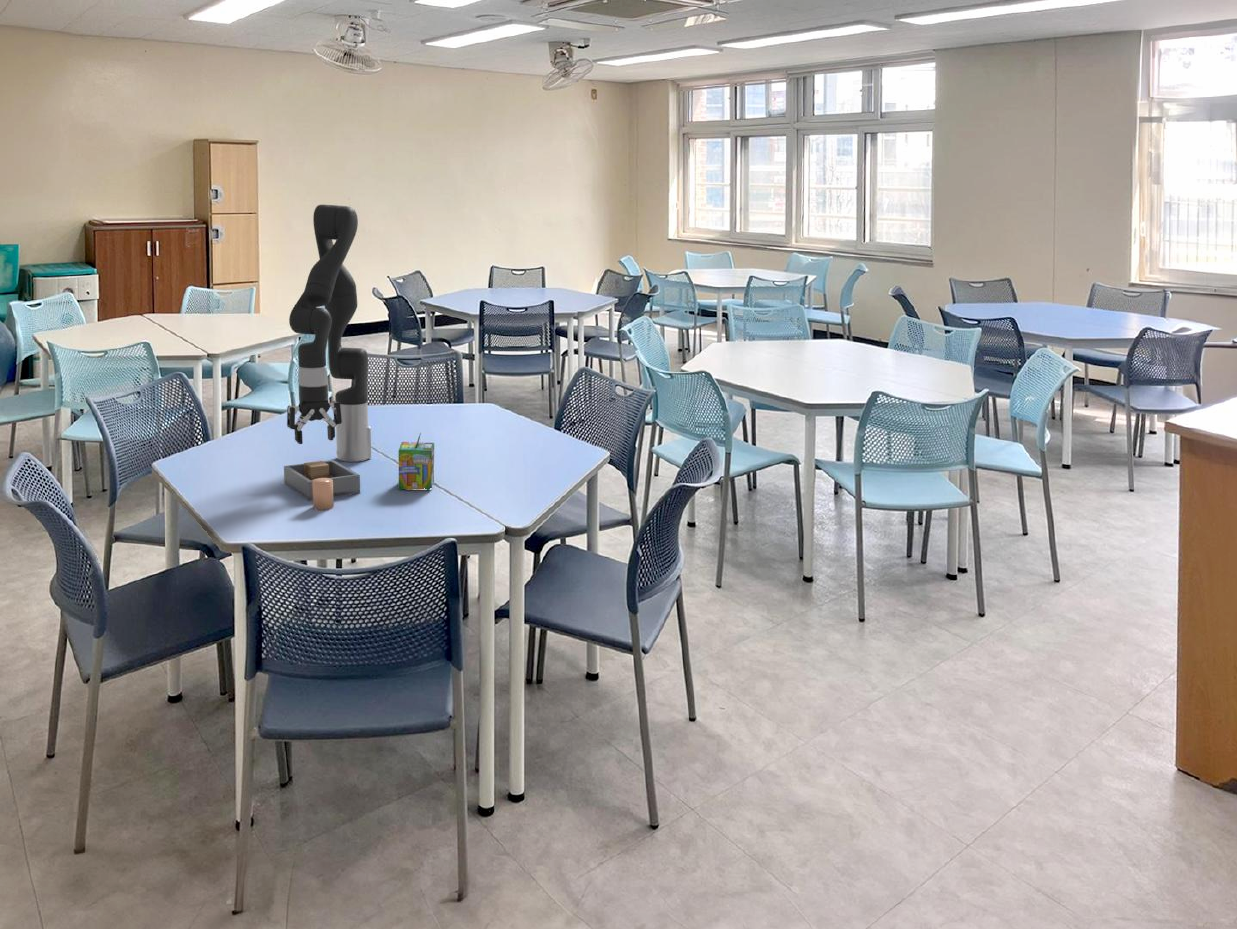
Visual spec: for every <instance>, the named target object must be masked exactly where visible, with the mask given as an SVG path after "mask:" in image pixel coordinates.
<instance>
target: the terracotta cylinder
mask: <svg viewBox="0 0 1237 929" xmlns="http://www.w3.org/2000/svg"><path fill="white" fill-rule="evenodd" d="M312 485H313V500H312V508H313V509H314V510H318V511H325V510H327V511H328V510H331V509H333V508H334V505H335V504H334V497H333V480H332V479H330V478H317V479H314V480H312Z"/></svg>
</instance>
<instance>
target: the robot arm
mask: <svg viewBox="0 0 1237 929" xmlns="http://www.w3.org/2000/svg"><path fill="white" fill-rule="evenodd" d="M358 219H359V218H358V214H357V211H356V210H355V208H353V207H351V206H347V205H336V204H335V205H334V204H318V205H316V207H315V209H314V211H313V223H312V224H313V230H314V236H315V237H314V238H315V241H316V247H317V252H318V256H319V260H317V261H316V263H314V265H313V266H312V267H311V269H310V272H309V273H308V276H307V280H306V284H305V286H304V290H303V292H302V294H301V295H300V297H299V298H298V300H297V302H296V303H295V304H294V306H293V308H292V309H291V311H290V314H289V317H288V318H289V319H288V321H289V326H290V327H289V328H291V330H292V331H293V332H294V333H296V334H301V335H313V336H314V339H313V341H311V342H305V343H304V342H303V343H301V344H300V345H299V346H298V348H297V356H298V357H297V360H298V369H297V370H298V373H297V382H298V401H299V403H298V405H296V406H292V405H289V404H288V406H287V407H286V408H287V410H286V415H287V416H286V426H287V428H289V429H291V430H294V440H295V442H296V443H297V444H298V445H303V431H302V429H303V427H304V426H305V425H306V424H307V423H308V421H309V422H314V421H322V420H324V421H325V422H326V424H327V427H326V428H327V440H329V441H331V442H332V441H334V439H335V437H336V459H337V460H338V461H341V462H349V463H350V462H362V461H367V460H369V459H372V431H371V430H372V428H371V427H370V426H369V417H368V416H369V412H368V410H369V409H368V395H369V394H368V392H369V391H368V390H369V388H368V387H369V386H368V383H369V382H368V380H369V379H368V378H369V356H368V352H367V350H366V349H365V348H361V347H343V346H342V337H343V334H344V332H345V330H346V328H347V326H348V324H349V323H350V322H351V320H352V318H353V317H354V315H355V313H356V311H357V309H358V293H357V283H356V282H355V280H354V278H353V276H352V274H351V273H350V271H349V270H348V269H347V268H346V266H345V264H343V263H344V261H345V259H346V257H347V255H348V253H349V251H350V249H351V246H352V244H353V242H354V239H355V237H356V234H357V231H358V226H359V224H358V222H359V220H358ZM334 240H335V242H333V241H334ZM323 307H324V308H323ZM326 350H328V351H326ZM326 352H328V353H326ZM326 354H328V355H326ZM327 356H328V357H327ZM327 358H328V368H329V372H330V376H331V377H332V378H333V379H337V380H354V384H353V385H351V386H350V387H348V388H344V389H341V390H339V391H337V392H336V393H335V395H334V396H335V400H333V401H332V402H329V383H328V382H329V381H328V380H329V379H328V370H327V369H328V368H327ZM330 409H331V410H332V411H333V419H332V418H331V416H330V415H329V414H328V412H329V410H330ZM298 412H299V413H300V415H299V416H298V418H297V421H295V420H296V415H297V414H298Z"/></svg>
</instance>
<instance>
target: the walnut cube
mask: <svg viewBox="0 0 1237 929" xmlns="http://www.w3.org/2000/svg"><path fill="white" fill-rule="evenodd" d="M323 461H324V460H323ZM323 461H322V460H318V461H309V462H303V464H304V476H305V477H306V478H308V479H309V480H314V479H317V478H329V465H328V464H326V463H325V462H323Z"/></svg>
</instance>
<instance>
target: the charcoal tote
mask: <svg viewBox="0 0 1237 929" xmlns="http://www.w3.org/2000/svg"><path fill="white" fill-rule="evenodd" d="M323 462H325V463H326V464H328V465H329V478H330V479H332V480H333V498H335V497H342V496H349V494H351V495H356V494H361V478H360V477H361V475H360V474H359V473H357V472H355V471H353V470H352V469H350V468H348V467H346V466H344V465H343V464H341V463H339V462H337V461H336V460H333V459H331V460H323ZM283 478H284V479H283V480H284V481H283V482H284V485H285V486H287V487H288V488H290V489H292V490H293V491H294V492H296V493H297V494H299V495H301V497H303V498H305V499H306V500H308V501H313V485H312V480H309V479H308V478H306V477H305V476H304V463H299V464H291V465H284V466H283Z"/></svg>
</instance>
